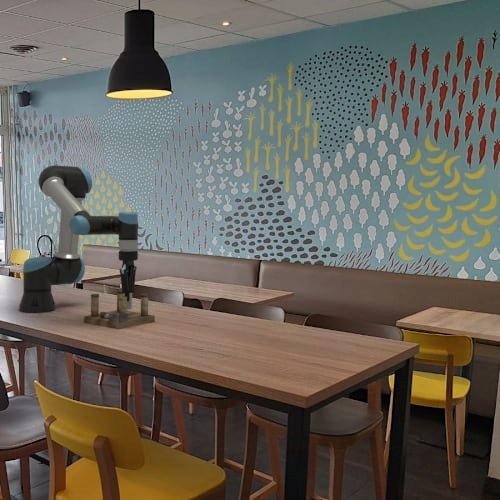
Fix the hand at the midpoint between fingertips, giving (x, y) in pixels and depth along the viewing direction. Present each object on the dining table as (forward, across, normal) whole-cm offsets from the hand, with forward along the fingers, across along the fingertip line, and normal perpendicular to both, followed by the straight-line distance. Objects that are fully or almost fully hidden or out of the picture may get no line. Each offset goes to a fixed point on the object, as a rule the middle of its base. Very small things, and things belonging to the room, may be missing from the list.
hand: (128, 308), depth 232 cm
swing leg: (+3, +3, -5) cm, 7 cm away
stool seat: (+6, -3, -5) cm, 8 cm away
